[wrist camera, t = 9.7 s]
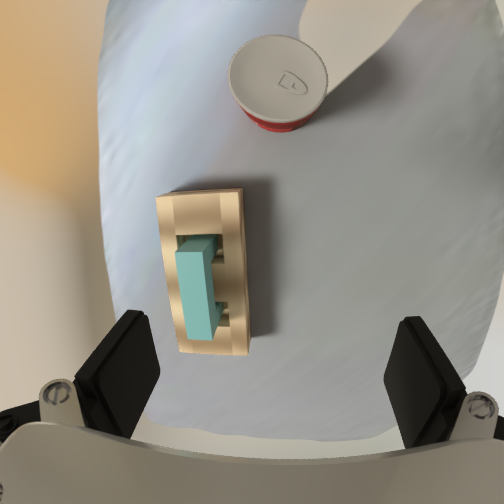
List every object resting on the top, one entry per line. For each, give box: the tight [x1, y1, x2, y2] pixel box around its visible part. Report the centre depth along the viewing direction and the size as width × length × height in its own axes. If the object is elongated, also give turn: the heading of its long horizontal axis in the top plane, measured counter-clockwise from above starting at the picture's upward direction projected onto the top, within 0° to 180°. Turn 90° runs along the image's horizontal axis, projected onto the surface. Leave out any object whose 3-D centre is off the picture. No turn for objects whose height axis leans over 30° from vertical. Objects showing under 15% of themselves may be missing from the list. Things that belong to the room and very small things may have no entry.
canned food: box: [228, 35, 328, 132], centre depth 25 cm, size 8×8×11 cm
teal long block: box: [175, 234, 224, 341], centre depth 33 cm, size 10×3×7 cm, turn 2°
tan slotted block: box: [156, 188, 251, 355], centre depth 35 cm, size 20×9×4 cm, turn 2°
